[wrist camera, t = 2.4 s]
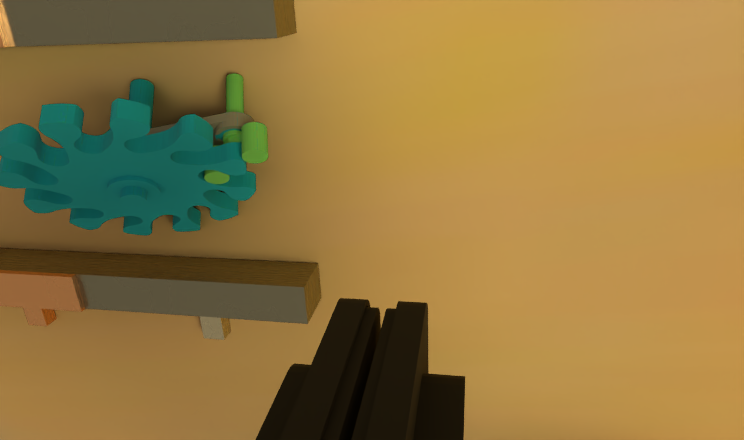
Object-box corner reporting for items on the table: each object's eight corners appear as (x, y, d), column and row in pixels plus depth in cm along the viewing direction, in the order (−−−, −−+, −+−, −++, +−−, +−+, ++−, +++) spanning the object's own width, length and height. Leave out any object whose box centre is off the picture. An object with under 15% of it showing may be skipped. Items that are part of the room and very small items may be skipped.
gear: (99, 259, 28) (-84, 166, 19) (109, 159, 30) (-49, 34, 21) (308, 221, 27) (218, 101, 18) (300, 119, 29) (218, -32, 20)
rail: (324, 338, 29) (308, 374, 27) (-52, 310, 34) (-99, 338, 31) (285, -88, 22) (256, -98, 19) (-197, -51, 26) (-276, -55, 23)
